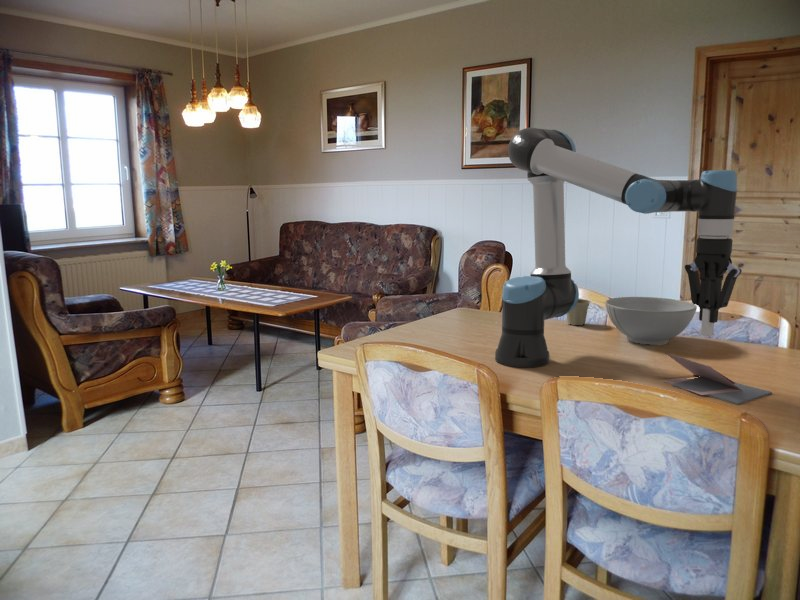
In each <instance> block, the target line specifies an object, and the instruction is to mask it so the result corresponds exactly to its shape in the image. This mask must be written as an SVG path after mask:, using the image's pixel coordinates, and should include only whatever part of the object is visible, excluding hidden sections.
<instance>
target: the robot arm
mask: <svg viewBox="0 0 800 600" xmlns="http://www.w3.org/2000/svg"><path fill="white" fill-rule="evenodd" d="M507 147H508V148H507V154H508V155H507V156H508V159H509V161H510V162H511V164H512V165H513V166H514V167H516V168H517V169H518V170H521V171H526V172H527V173H526V174H527V181H529V182H530V184H531V185H532V191H533V196H532V199H533V225H534V226H533V227H534V229H533V230H534V233H533V235H534V261H535V264H534V265H535V267H534V269H532V270H531V272H530V275H529V276H527V275H526V276H525V275H524V276H515V277H514V278H509V279H508V280H506V281H505V282H504V283H503V286H502V293H501V299H502V305H501V306H502V308H501V309H502V310H501V315H502V316H501V334H500V339H499V342H498V344H497V348H496V349H495V352H494V353H495V355H494V359H495V361H496V362H497V363H498V362H499V364H501V365H504V366H508V367H515V368H537V367H543V366H546V365H548V364H550V357H551V356H550V351H549V350H548V345H547V341H546V338H545V321H546V320H549V319H554V318H560V317H563V316H566V314H567V313H569V312H570V311H572V310H573V309H574V307H575V306H576V304H577V302H578V299H580V297H579V295H580V293H579V288H578V285H577V283H575V280H573V279H572V271H571V270H570V268H568V267H567V265H566V233H565V231H566V230H565V229H566V226H565V225H566V224H565V193H564V191H565V185H564V184H565V182H566V183H569V184H571V185H574V186H577V187H580V188H581V189H585V190H587V191H590V192H592V193H596V194H597V195H600V196H603V197H606V198H607V199H608V198H609V199H611V200H612V201H613V200H614V201H617V202H618V203H621V204H624V205H626V206H627V207H629V209H630V210H632V211H633V212H635V213H641V214H645V215H647V214H648V215H649V214H652V213H669V212H671V213H672V212H675V213H676V212H693V213H695V212H698V215H697V217H698V218H697V232H696V235H697V236H698V237H697V238H696V244H695V252H696V256H695V257H694V260H693V262H691V263H689V264H685V265H684V270H685V271H686V273H687V276H688V284H689V291H690V296H691V297H690V298H691V303H692V304H694V305H696V306H697V307H698V308H699V316H698V319H699V321H700V322H701V328H700V336H703V337H709V336H710V337H711V336H714V332H715V331H714V330H715V323H718V321H719V320H718V319H719V310H720V309H722V308H727V307H728V305H729V302H730V299H731V295H732V292H733V290H734V287H735V284H736V281H737V279H738V277H739V276H740V275H741V273H742V268H737V267H736V266H735V265H733V260H732V258H731V255H732V252H733V239H732V238H731V237H732V236H733V235H734V229H735V227H734V226H735V212H736V204H737V203H736V202H737V194H738V174H737V172H736V171H735V170H733V169H732V170H731V169H720V170H719V169H718V170H717V169H716V170H715V169H714V170H713V169H712V170H704V171H702V173H701V176H700V178H699V179H688V180H687V179H676V180H671V179H670V180H669V179H656V178H653V177H652V178H651V177H649V176H646V175H643V174H639V173H637V172H634V171H631V170H628V169H625V168H622V167H620V166H616V165H613V164H610V163H608V162H605V161H602V160H599V159H596V158H593V157H590V156H588V155H585V154H581V153H579V152H577V151H576V150H577V149H576V145H575V142H574V140H573V139H572V138H571V137H570V136H569V135H568V134H567V133H565V132H562V131H560V130H556V129H546V128H538V127H537V128H536V127H526V128H525V127H524V128H523V129H520V130H518V131H517V132H516V133H515V134H514V135H512V137H511V139H510V141H509V144H508V146H507ZM698 271H699V272H698ZM725 273H726V277H724V274H725Z"/></svg>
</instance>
